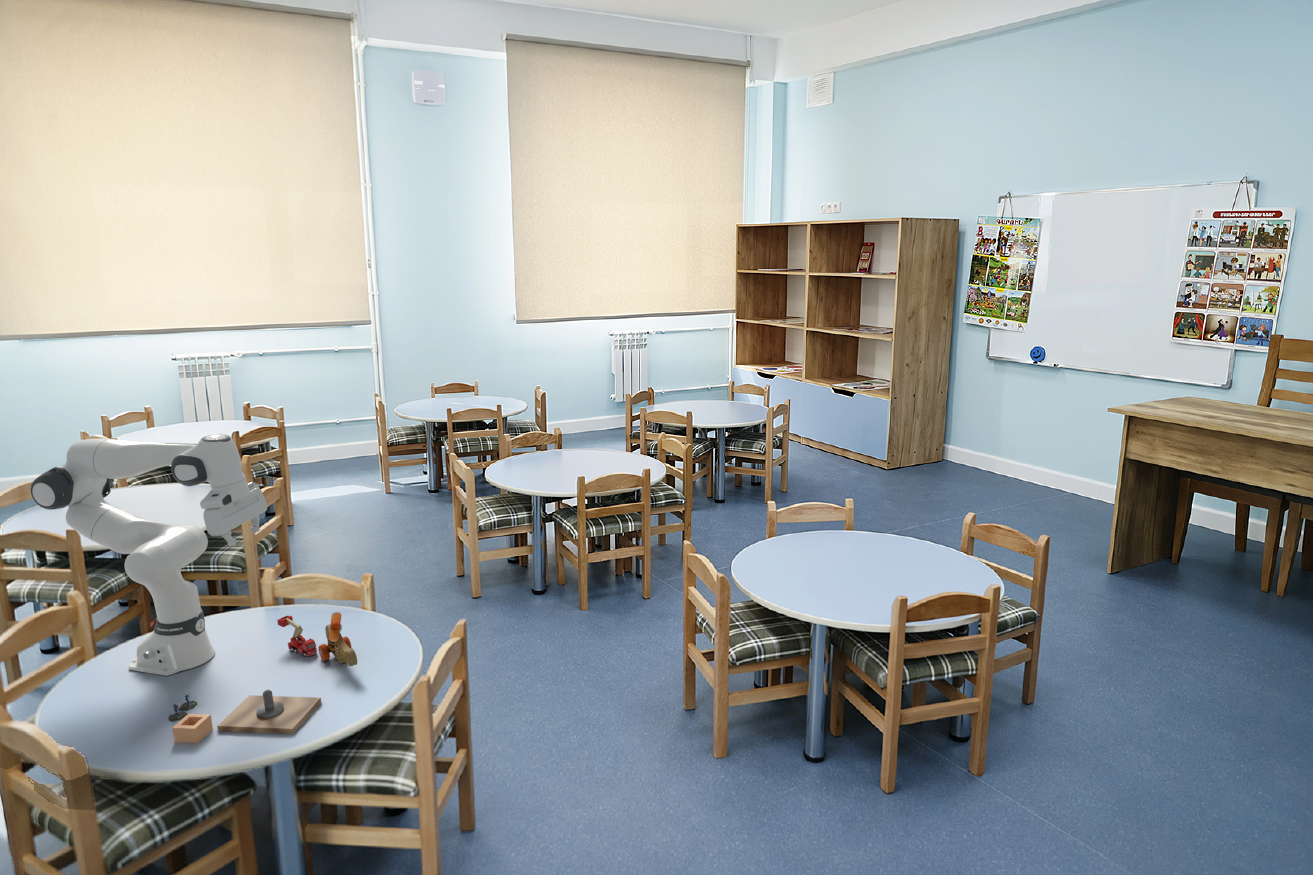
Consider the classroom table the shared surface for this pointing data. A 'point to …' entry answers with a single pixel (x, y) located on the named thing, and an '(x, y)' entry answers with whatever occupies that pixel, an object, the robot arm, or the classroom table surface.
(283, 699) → the stand
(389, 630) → the classroom table surface
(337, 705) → the classroom table surface
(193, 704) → the figurines
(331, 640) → the toy helicopter
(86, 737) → the classroom table surface
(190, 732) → the square frame block
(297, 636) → the toy fire truck
